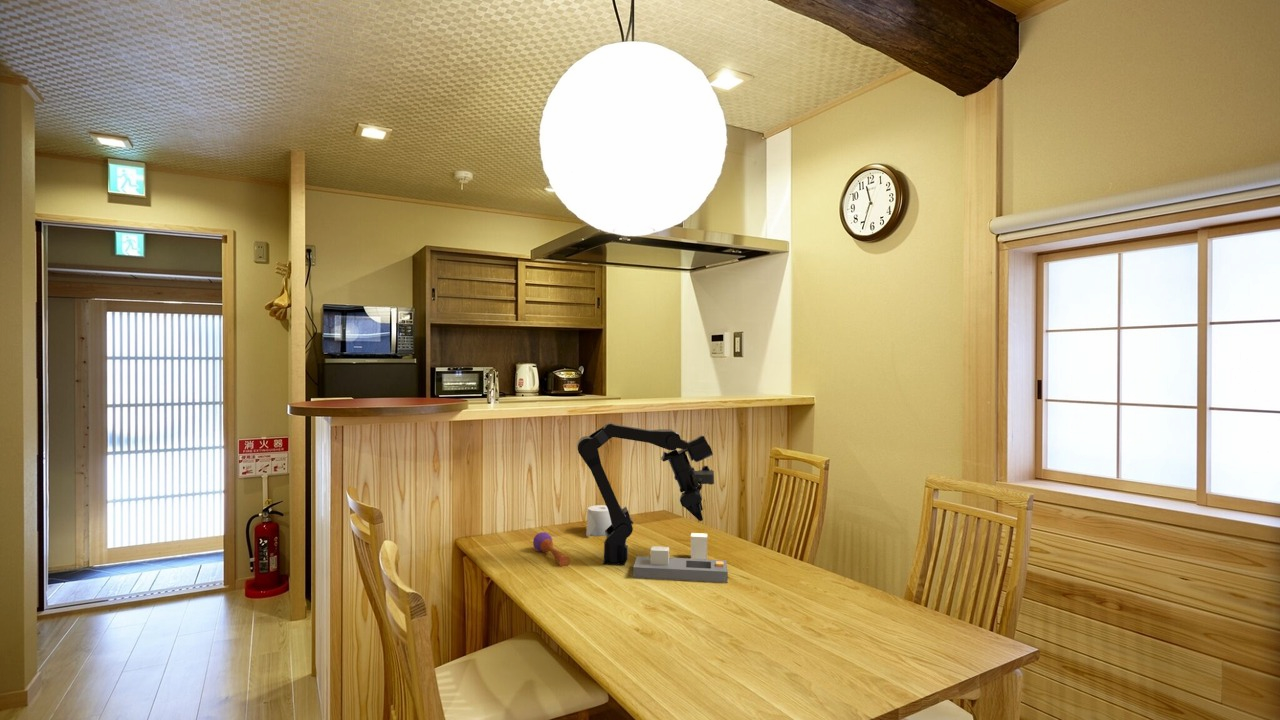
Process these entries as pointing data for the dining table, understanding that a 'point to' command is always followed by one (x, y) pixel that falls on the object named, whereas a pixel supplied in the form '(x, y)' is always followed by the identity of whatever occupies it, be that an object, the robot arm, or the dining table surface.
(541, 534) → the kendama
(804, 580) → the dining table surface
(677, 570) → the power strip
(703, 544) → the plug
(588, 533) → the toilet tissue
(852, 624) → the dining table surface
